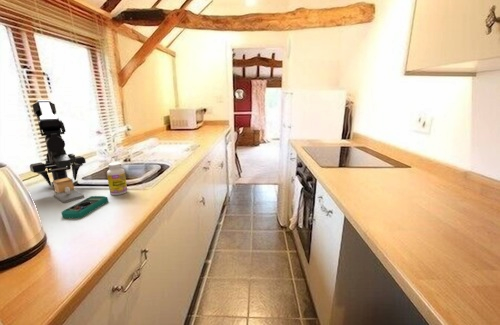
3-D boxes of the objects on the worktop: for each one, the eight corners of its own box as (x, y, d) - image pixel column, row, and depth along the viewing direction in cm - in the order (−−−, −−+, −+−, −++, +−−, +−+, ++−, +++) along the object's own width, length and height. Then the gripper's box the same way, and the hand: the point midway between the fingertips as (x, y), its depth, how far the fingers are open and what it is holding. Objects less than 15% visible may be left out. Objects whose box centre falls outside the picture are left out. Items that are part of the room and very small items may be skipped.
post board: (54, 196, 106) (52, 187, 105) (73, 191, 112) (71, 182, 111) (64, 202, 99) (61, 193, 98) (84, 197, 104) (82, 188, 103)
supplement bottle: (112, 197, 104) (107, 166, 101) (108, 192, 109) (103, 163, 106) (129, 192, 108) (125, 163, 105) (125, 189, 113) (121, 160, 110)
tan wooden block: (55, 191, 112) (52, 180, 111) (70, 187, 116) (67, 177, 115) (59, 194, 109) (57, 183, 107) (74, 190, 113) (72, 179, 112)
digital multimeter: (60, 219, 86) (58, 211, 86) (92, 201, 101) (91, 194, 100) (80, 220, 85) (78, 212, 85) (109, 202, 100) (108, 195, 99)
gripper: (32, 154, 96) (42, 192, 100) (87, 146, 110) (93, 180, 114) (25, 150, 103) (34, 187, 106) (77, 143, 117) (84, 176, 121)
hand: (63, 182), depth 112 cm, fingers open, 9 cm apart
